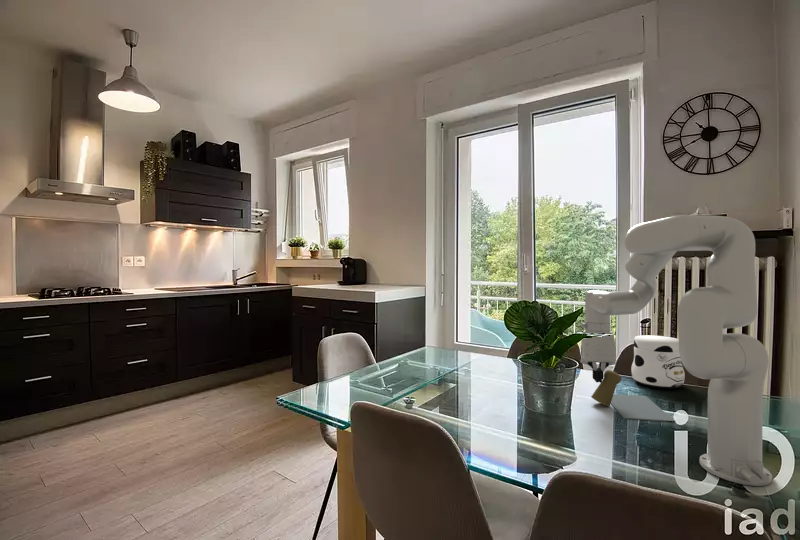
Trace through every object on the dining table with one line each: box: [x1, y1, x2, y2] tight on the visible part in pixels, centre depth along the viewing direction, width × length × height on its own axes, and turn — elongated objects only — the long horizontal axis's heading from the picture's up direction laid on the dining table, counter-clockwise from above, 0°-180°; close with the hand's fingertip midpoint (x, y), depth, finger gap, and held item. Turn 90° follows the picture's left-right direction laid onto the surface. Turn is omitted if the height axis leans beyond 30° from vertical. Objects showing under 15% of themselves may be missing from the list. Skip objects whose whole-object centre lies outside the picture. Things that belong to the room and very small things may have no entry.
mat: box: [610, 393, 676, 423], centre depth 129 cm, size 22×14×1 cm, turn 168°
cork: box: [590, 369, 622, 408], centre depth 131 cm, size 6×6×11 cm
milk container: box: [630, 334, 686, 389], centre depth 152 cm, size 17×17×18 cm
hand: (598, 381), depth 131 cm, fingers closed
